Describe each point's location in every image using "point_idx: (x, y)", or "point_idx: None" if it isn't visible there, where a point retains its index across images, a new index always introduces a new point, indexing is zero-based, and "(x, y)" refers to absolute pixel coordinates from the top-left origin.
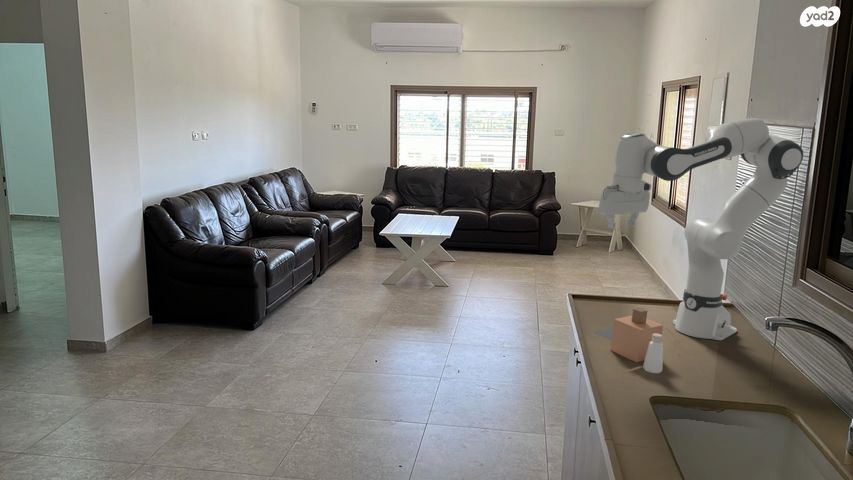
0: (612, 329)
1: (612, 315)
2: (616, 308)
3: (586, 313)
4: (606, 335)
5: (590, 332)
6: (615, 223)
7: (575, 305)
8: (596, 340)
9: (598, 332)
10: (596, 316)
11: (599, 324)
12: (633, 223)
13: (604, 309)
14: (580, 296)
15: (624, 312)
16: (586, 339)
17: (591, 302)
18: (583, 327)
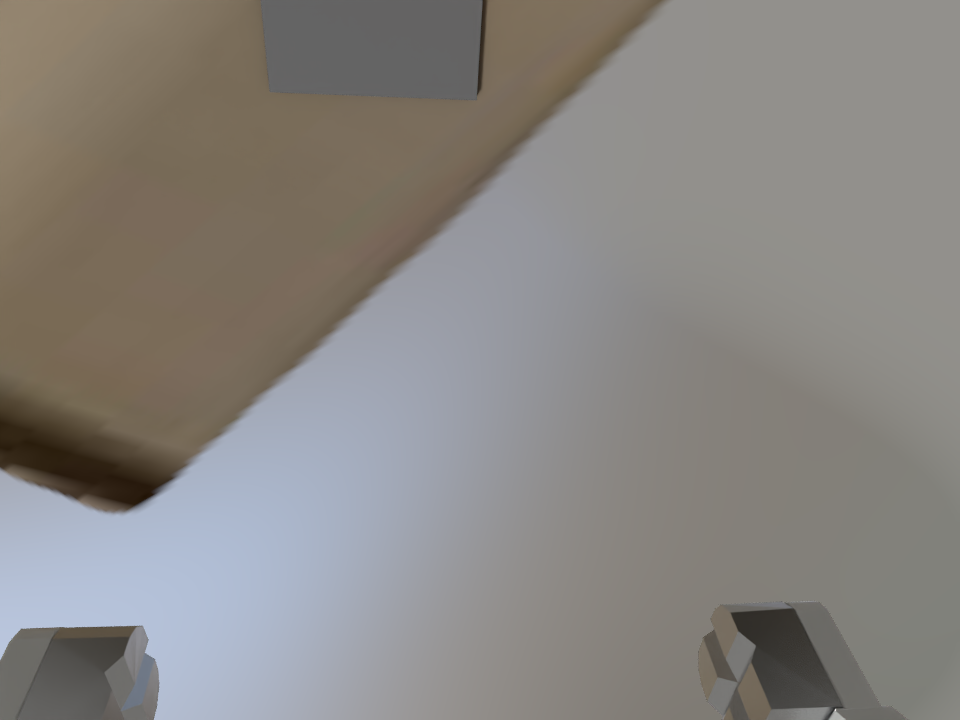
0: (335, 70)
1: (138, 242)
2: (27, 307)
3: (270, 320)
4: (453, 17)
5: (479, 114)
6: (772, 695)
7: (241, 415)
8: (554, 6)
9: (458, 77)
10: (248, 269)
11: (328, 177)
12: (49, 685)
13: (117, 323)
14: (117, 487)
15: (20, 245)
16: (591, 48)
17: (118, 416)
18: (453, 186)
